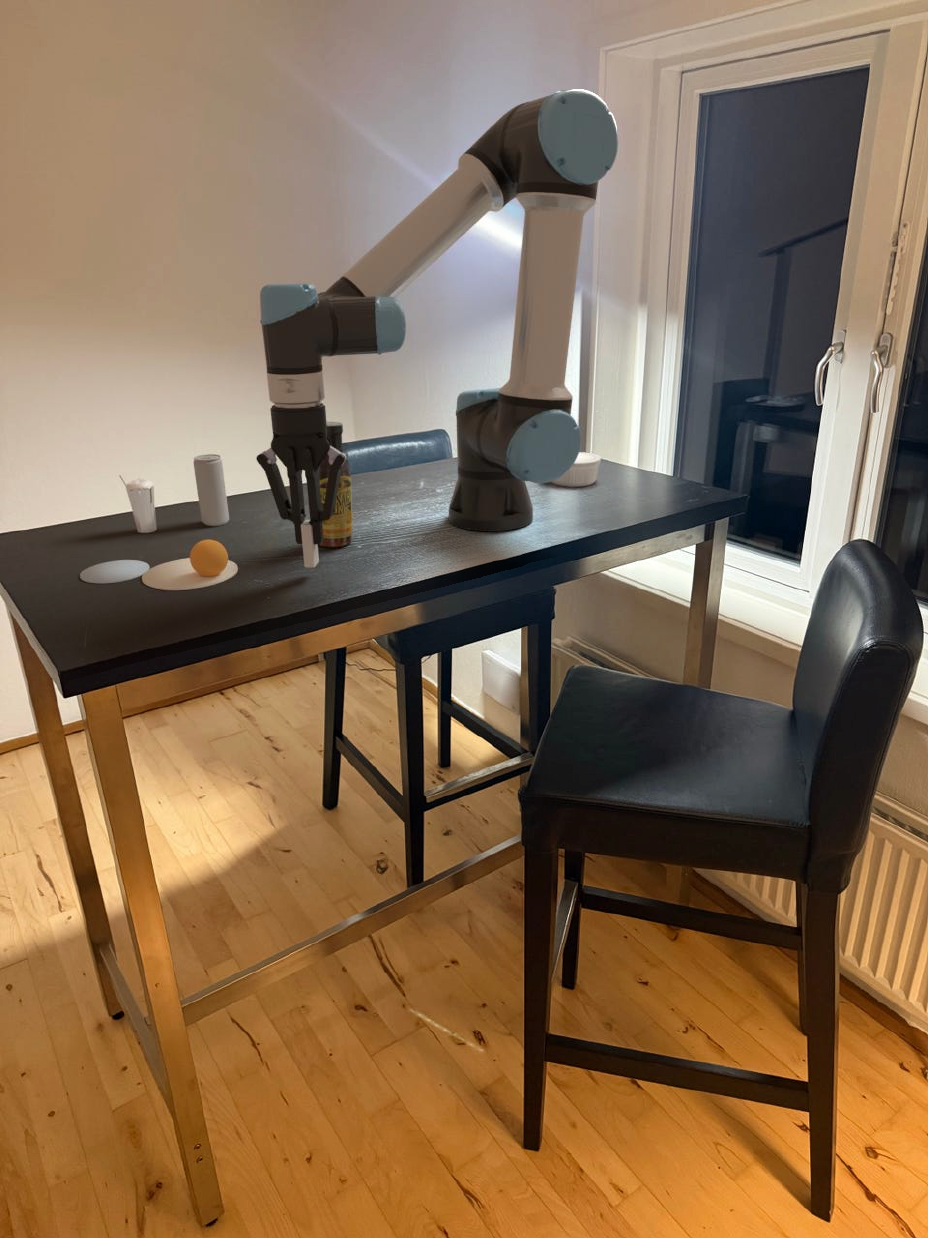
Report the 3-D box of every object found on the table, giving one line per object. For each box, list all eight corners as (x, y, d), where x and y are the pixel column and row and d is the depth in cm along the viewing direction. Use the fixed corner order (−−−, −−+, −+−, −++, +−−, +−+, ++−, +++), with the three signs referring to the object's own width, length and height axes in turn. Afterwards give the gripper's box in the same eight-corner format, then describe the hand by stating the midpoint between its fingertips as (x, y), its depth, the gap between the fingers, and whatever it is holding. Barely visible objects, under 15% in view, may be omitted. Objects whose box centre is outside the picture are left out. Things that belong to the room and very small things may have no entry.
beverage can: (222, 527, 152) (213, 460, 147) (197, 526, 153) (187, 459, 148) (234, 519, 156) (226, 454, 151) (209, 518, 157) (201, 453, 152)
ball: (239, 565, 130) (227, 531, 128) (221, 579, 126) (208, 544, 124) (210, 570, 132) (197, 537, 130) (191, 584, 128) (177, 550, 126)
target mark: (254, 562, 134) (254, 560, 134) (206, 593, 122) (206, 592, 122) (176, 555, 138) (176, 554, 138) (122, 585, 125) (122, 584, 125)
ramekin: (541, 476, 183) (541, 452, 181) (592, 474, 184) (593, 450, 182) (551, 489, 173) (552, 464, 171) (605, 487, 174) (607, 461, 172)
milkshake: (132, 527, 153) (123, 472, 149) (163, 526, 153) (154, 471, 149) (125, 534, 148) (115, 478, 144) (157, 533, 149) (147, 477, 145)
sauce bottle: (322, 551, 139) (312, 428, 131) (310, 541, 144) (300, 422, 136) (360, 545, 141) (353, 424, 133) (347, 535, 146) (339, 418, 139)
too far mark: (162, 563, 134) (162, 562, 134) (123, 586, 125) (122, 584, 125) (108, 559, 137) (107, 557, 137) (65, 580, 128) (65, 579, 128)
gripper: (242, 407, 115) (261, 572, 125) (337, 407, 114) (349, 573, 123) (260, 398, 122) (276, 555, 131) (349, 398, 121) (360, 556, 130)
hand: (311, 564), depth 127 cm, fingers closed
